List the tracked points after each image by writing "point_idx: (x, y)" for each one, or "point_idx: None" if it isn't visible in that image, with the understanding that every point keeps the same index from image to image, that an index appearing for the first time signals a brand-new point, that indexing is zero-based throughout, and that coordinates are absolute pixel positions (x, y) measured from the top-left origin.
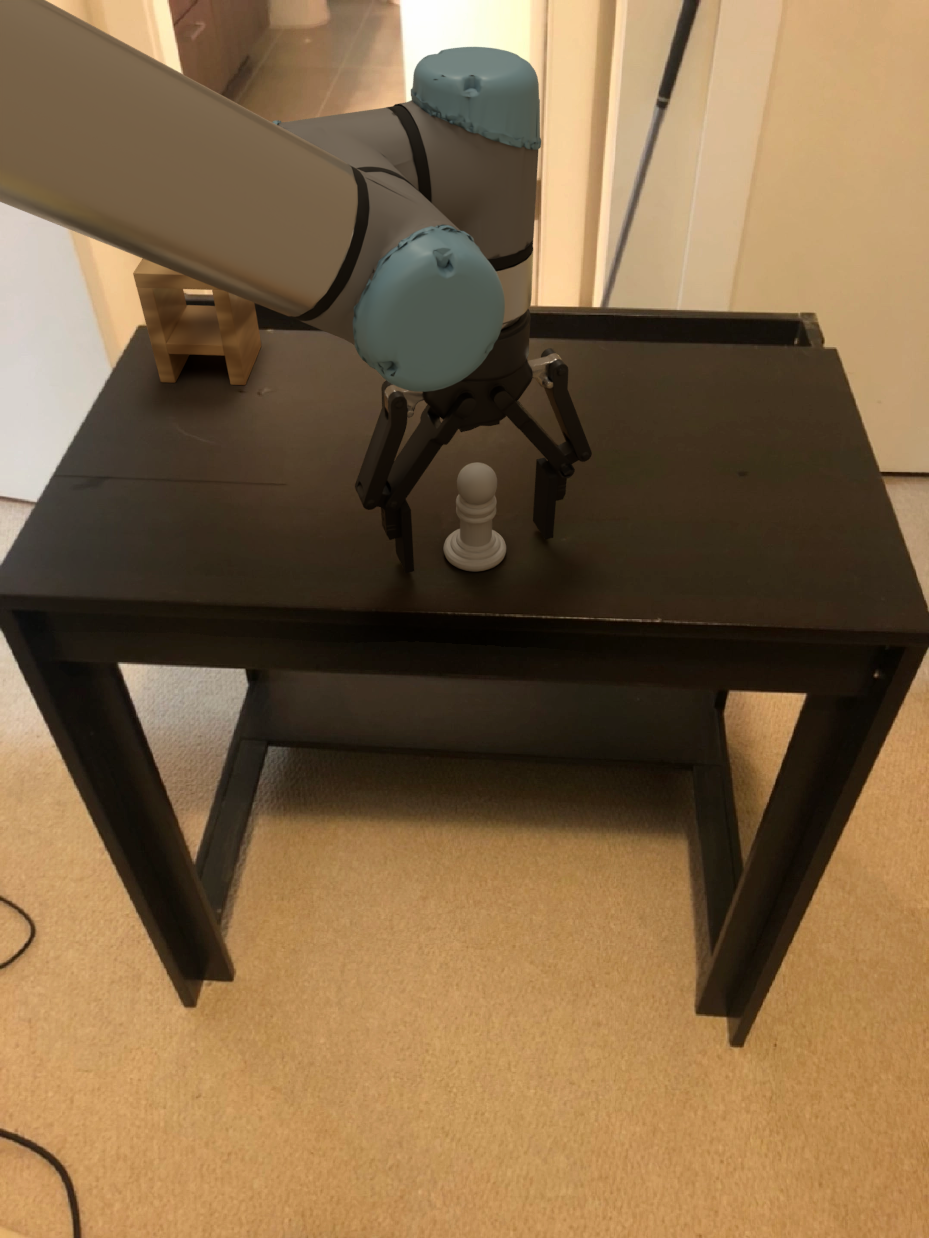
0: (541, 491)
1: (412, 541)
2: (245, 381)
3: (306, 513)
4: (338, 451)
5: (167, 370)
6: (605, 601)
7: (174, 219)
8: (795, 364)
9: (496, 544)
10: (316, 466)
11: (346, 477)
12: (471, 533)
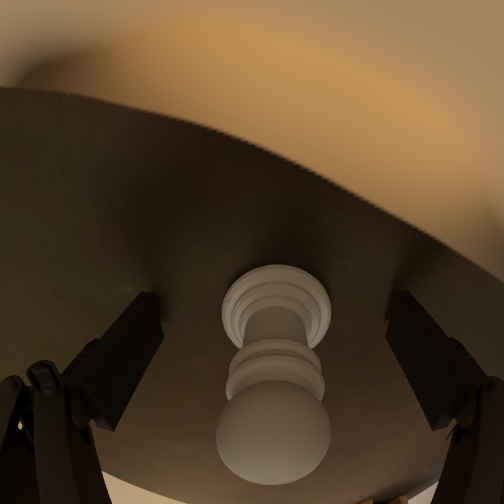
0: (124, 368)
1: (424, 327)
2: (363, 502)
3: None
4: (345, 465)
5: (403, 502)
6: (110, 135)
7: None
8: None
9: (243, 304)
10: (375, 454)
11: (360, 444)
12: (296, 329)
